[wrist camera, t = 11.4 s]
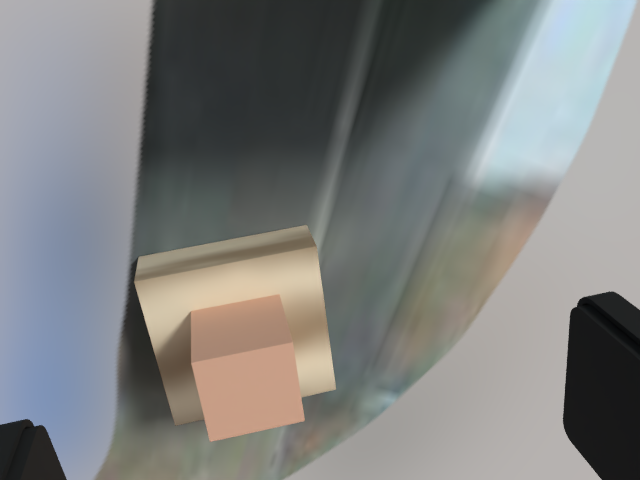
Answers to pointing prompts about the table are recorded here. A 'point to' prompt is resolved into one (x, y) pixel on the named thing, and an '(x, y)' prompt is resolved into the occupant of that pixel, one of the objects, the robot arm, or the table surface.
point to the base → (229, 287)
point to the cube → (245, 367)
